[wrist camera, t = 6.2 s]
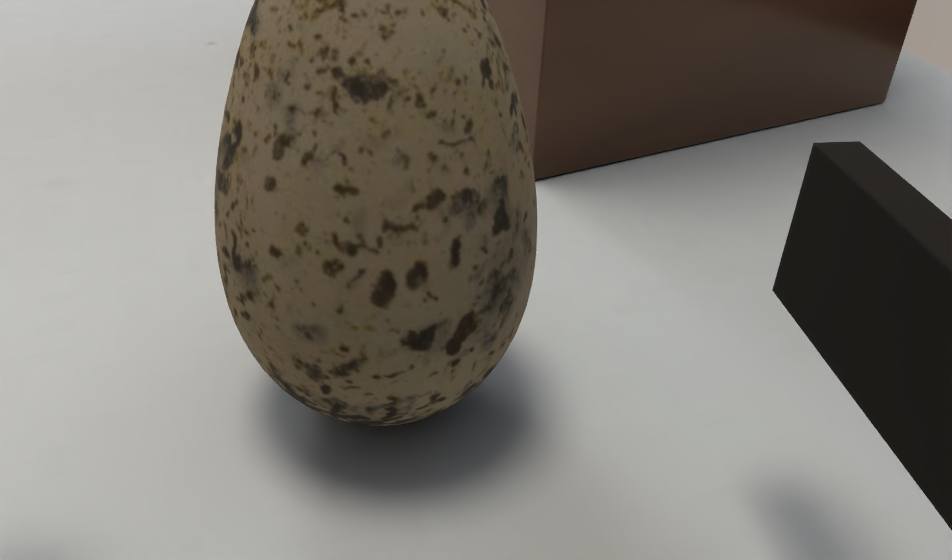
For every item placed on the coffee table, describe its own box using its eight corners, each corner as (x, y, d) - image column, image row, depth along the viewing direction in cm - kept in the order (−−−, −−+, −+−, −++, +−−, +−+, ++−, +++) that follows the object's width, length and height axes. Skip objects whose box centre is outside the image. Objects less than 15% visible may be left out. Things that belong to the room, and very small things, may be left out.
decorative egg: (566, 364, 20) (627, -112, 14) (427, 547, 15) (435, -34, 10) (352, 284, 22) (331, -152, 16) (179, 423, 18) (69, -106, 12)
